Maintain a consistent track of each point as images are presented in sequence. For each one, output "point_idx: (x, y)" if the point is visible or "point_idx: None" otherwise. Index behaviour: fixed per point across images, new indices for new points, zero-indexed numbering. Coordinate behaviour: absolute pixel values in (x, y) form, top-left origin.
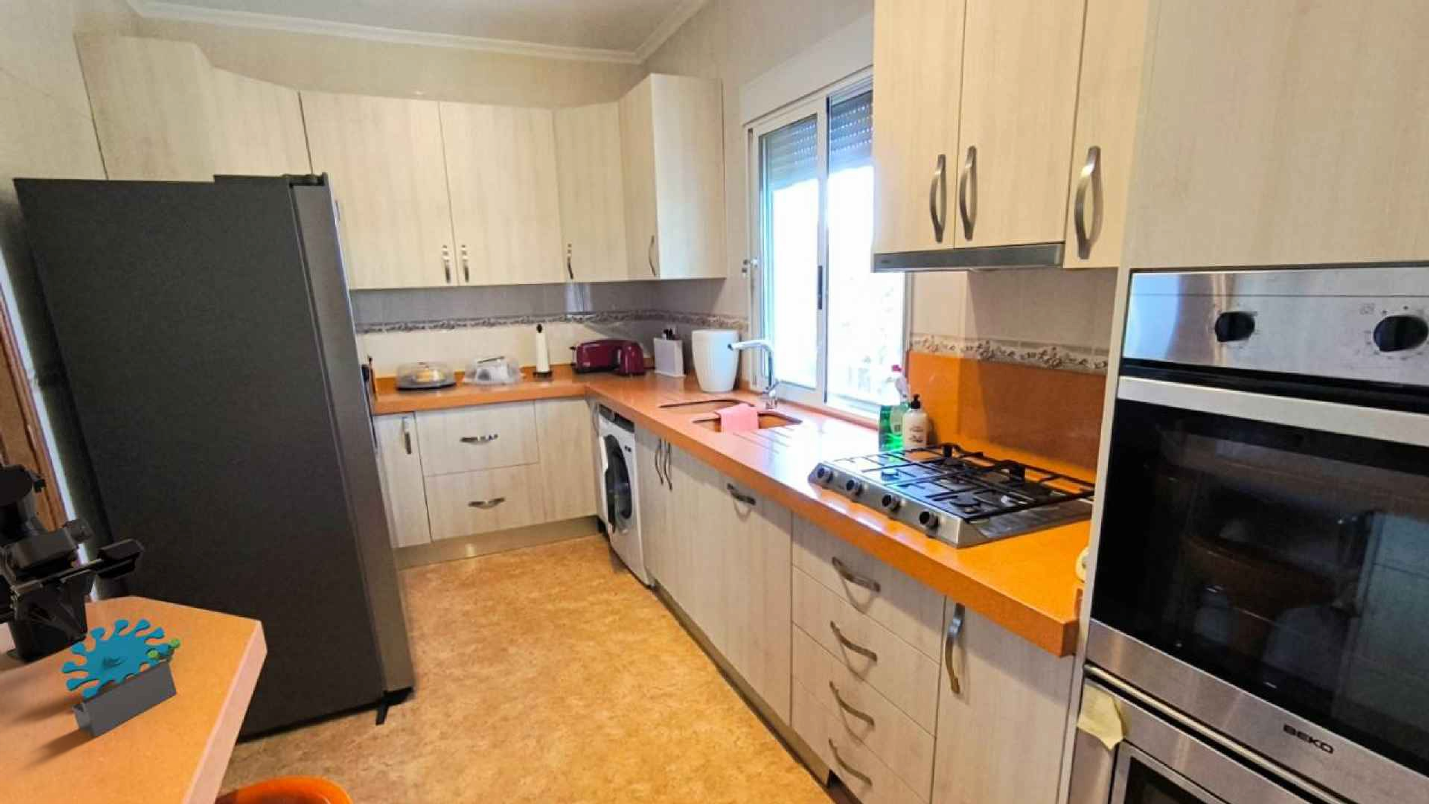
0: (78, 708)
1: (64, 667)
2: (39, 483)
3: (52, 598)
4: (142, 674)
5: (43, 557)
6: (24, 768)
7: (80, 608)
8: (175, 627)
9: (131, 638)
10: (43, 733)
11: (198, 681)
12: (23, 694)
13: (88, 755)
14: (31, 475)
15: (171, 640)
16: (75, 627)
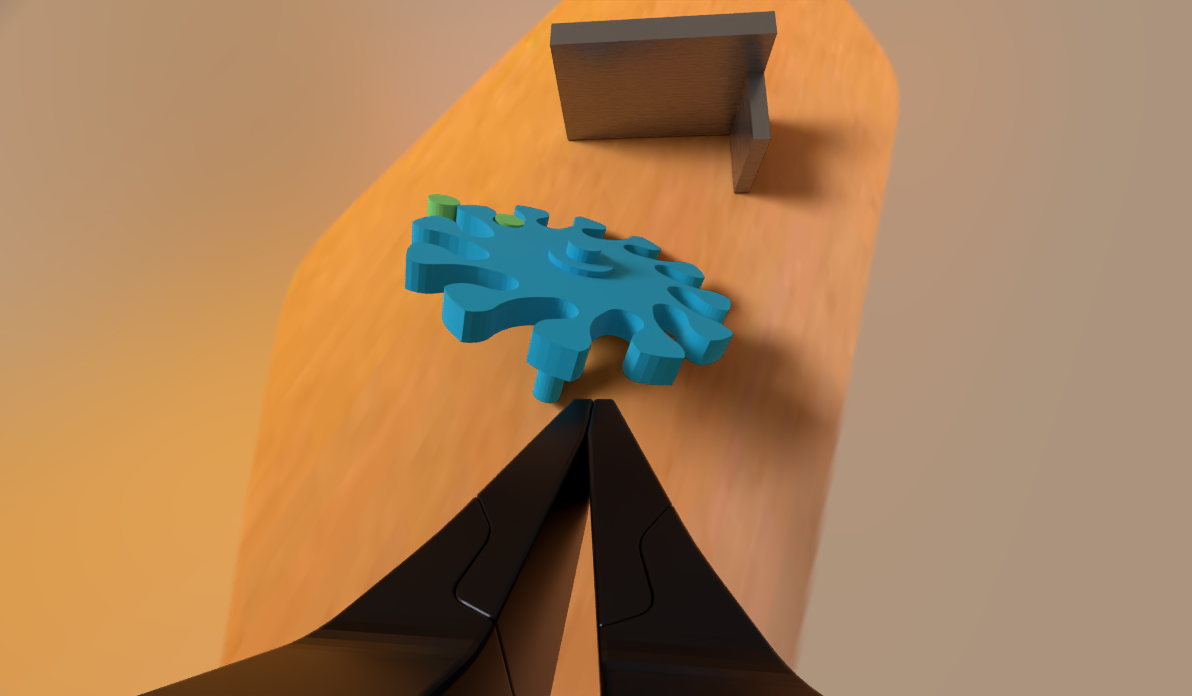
0: (764, 108)
1: (721, 331)
2: None
3: (652, 673)
4: (621, 21)
5: None
6: (871, 144)
7: (517, 485)
8: (298, 574)
9: (504, 259)
10: (804, 262)
11: (516, 129)
12: (768, 630)
13: (775, 67)
14: None
15: (443, 203)
16: (613, 421)
